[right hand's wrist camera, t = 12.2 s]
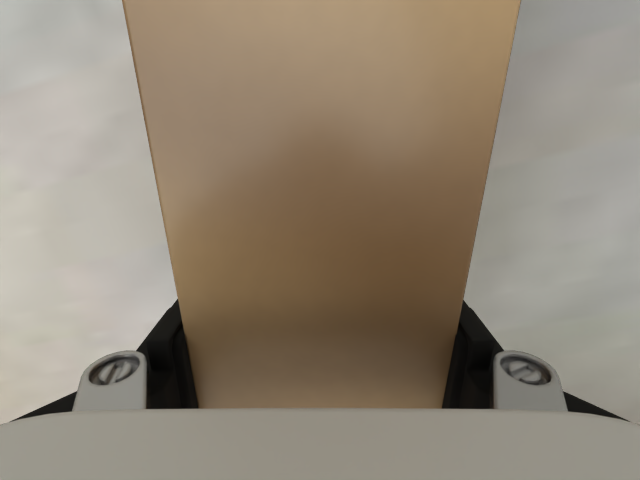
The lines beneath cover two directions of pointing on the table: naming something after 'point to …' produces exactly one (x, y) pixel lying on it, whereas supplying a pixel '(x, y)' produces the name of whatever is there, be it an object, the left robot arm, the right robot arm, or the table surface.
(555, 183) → the table surface
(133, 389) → the right robot arm
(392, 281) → the tan elongated box
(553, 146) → the table surface
